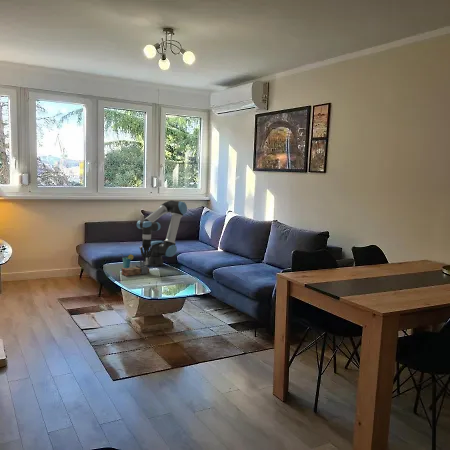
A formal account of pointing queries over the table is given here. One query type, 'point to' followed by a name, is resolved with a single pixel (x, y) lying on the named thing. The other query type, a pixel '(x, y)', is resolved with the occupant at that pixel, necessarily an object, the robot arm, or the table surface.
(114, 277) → the table surface
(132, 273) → the hinged jaw
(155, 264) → the robot arm
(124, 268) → the base
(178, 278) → the table surface
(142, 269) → the collar
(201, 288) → the table surface
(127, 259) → the cup
